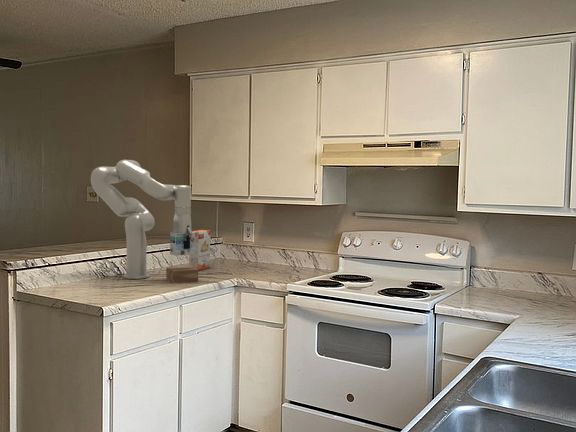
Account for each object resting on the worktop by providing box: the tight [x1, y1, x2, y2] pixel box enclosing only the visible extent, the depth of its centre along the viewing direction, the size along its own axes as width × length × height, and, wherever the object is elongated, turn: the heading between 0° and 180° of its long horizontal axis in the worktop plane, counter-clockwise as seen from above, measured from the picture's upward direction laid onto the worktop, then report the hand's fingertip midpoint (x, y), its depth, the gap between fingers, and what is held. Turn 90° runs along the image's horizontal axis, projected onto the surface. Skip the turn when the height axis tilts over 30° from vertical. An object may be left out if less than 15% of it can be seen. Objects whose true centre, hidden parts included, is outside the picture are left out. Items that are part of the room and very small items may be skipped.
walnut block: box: [165, 265, 199, 284], centre depth 288 cm, size 12×12×6 cm
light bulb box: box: [169, 231, 195, 257], centre depth 287 cm, size 11×7×11 cm, turn 127°
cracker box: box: [188, 229, 211, 272], centre depth 324 cm, size 14×6×21 cm, turn 161°
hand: (182, 247), depth 287 cm, fingers closed on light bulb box, 6 cm apart
